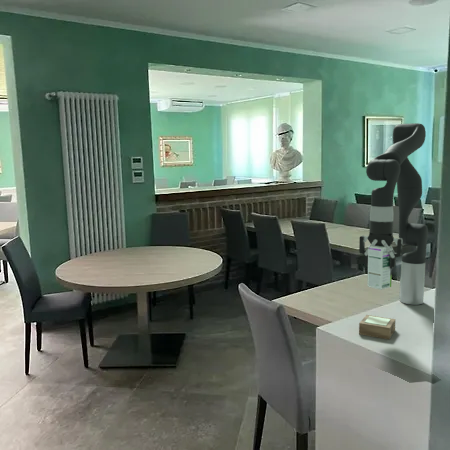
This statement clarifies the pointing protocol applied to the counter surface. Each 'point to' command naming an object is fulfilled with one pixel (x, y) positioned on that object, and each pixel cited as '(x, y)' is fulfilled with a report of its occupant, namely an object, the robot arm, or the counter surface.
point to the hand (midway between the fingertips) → (379, 267)
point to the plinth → (377, 326)
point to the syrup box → (379, 267)
